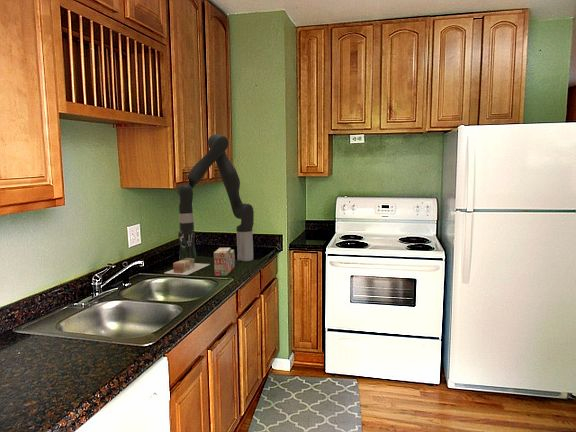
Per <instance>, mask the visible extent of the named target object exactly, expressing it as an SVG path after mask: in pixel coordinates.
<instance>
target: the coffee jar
mask: <svg viewBox="0 0 576 432" xmlns="http://www.w3.org/2000/svg"><path fill="white" fill-rule="evenodd" d="M192 231H193V234H195V235H196V233H195V229H194V230H192ZM181 234H182V231H180V230H179V231H178V235H177V237H178V241H179V261H180V260H183V259H185V258H191V259H194V262H195V261H196V260H198V259H197V251H196V244H195V243H196V242H195V240H196V238H195V239H194V242H193V244H192V245H191V253H189V254H187V253H186V250H185V246H182V244H181V242H180V240H179V238H181V237H182V235H181Z"/></svg>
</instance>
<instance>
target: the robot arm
mask: <svg viewBox="0 0 576 432" xmlns="http://www.w3.org/2000/svg"><path fill="white" fill-rule="evenodd" d="M207 145H208V146H207V147H208V148H209V150H208V151H207V152H206V154H205V155H204V156H203V157H202V158H201V159H200V160H199V161H198V162H196V163H195V164H194V166H193V167H191V170H189V172H188V174H189V175H188V174H187V176H188V179H189V182H190V183H189V185H188V184H184V185H182V186H181V187H178V186H177V190H176V192H177V195H178V196H179V204H178V212H179V214H178V215H179V216H178V222H179V231H182V234H181V235H182V237H181V238H179V239H178V241H179V240H180V242H181V244H182V246H185V250H186V253H187V254H189V253H191V245H192V244H193V242H194V243H195V240H196V233H195V234H193V231H192V230H194V231H195V222H194V221H195V220H194V212H193V211H194V209H193V202H194V201H193V200H194V190H193V189H194V188H195V186H196V185H198V184H199V183H200V182H201V180H202V178H204V176H205V175H206V173H207V172H208V170H210V168H211V167H212V165H213V164H214V163H216V166H217V170H218V172H219V175H220V177H221V178H220V179H221V181H222V183H223V186H224V189H225V191H226V193H227V197H228V199H229V203H230V206H231V210H232V214H233V216H234V217H235V218H236V219H238V220H240V224H238V225H236V249H237V250H236V251H237V261H241V262H250V261H253V260H254V239H253V237H254V236H253V235H254V234H253V227H254V224H255V223H254V219H255V217H254V216H255V211H254V207H253V205H252V204H250V203H243V201H242V200H241V199H242V198H241V196H240V187H241V181H240V176H239V175H238V172H237V168H235V166H234V164H233V163H232V162H231V160H230V159H229V158H228V156H227V152H226V151H227V149H228V148H229V145H230V144H229V140H228V138H227V136H226V135H222V134H211V135H210V136H209V137H208V139H207ZM194 239H195V240H194ZM180 242H179V243H180Z"/></svg>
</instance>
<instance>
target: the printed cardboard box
mask: <svg viewBox="0 0 576 432" xmlns="http://www.w3.org/2000/svg"><path fill="white" fill-rule="evenodd" d="M235 256H236V255H235V249H232V248H231V247H218V249H216V250H215V251H213V266H214V269H213V271H214V276H215V277H221V276H222V277H223V276H224V277H226V276H228V275H229V273H231V271H232V270H233V269H234V268H235V267H236V257H235Z"/></svg>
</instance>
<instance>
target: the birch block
mask: <svg viewBox="0 0 576 432" xmlns="http://www.w3.org/2000/svg"><path fill="white" fill-rule="evenodd" d="M194 263H195V261H194V259H191V258H185V259H183V260H180V259H179V260H178V261H175V262H173V263H172V265H173V266H172V268H173V269H174V273H184V272H186V271H188V270H190V269H193V268H194Z"/></svg>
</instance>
